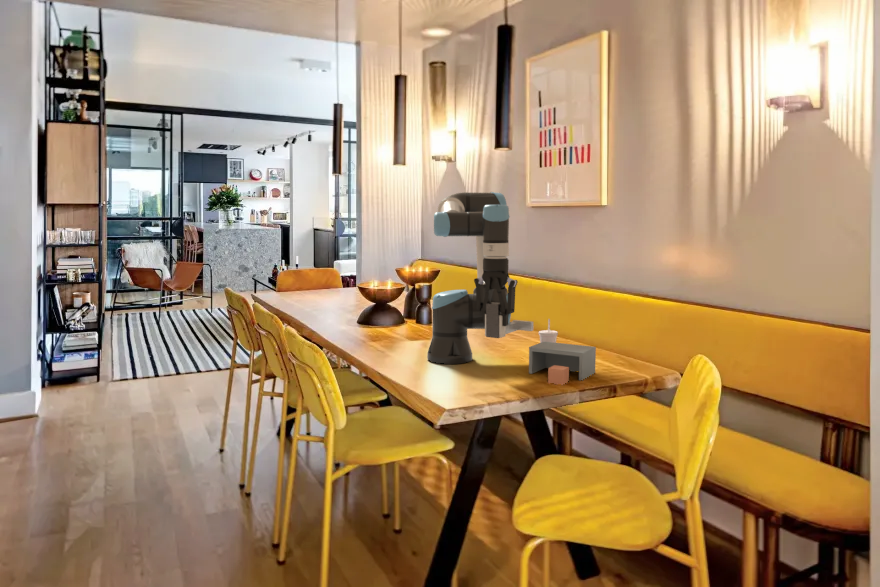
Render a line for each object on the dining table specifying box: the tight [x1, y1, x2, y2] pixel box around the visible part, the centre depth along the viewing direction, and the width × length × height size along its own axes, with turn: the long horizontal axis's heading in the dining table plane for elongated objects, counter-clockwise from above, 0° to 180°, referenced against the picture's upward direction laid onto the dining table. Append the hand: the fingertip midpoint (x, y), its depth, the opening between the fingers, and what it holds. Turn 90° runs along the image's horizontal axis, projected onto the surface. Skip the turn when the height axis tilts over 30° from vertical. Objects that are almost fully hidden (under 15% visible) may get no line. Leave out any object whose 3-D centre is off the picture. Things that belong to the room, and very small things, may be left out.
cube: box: [547, 365, 570, 386], centre depth 188 cm, size 4×4×4 cm
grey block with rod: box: [485, 302, 534, 339], centre depth 198 cm, size 8×17×10 cm, turn 148°
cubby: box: [528, 342, 597, 381], centre depth 199 cm, size 17×11×8 cm, turn 57°
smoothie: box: [538, 318, 559, 343], centre depth 218 cm, size 6×6×14 cm
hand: (495, 335), depth 194 cm, fingers closed on grey block with rod, 4 cm apart
